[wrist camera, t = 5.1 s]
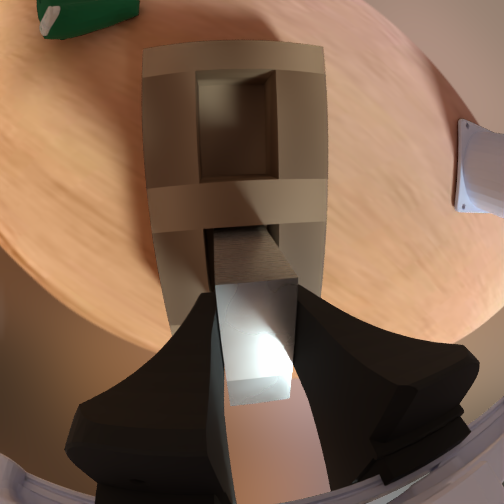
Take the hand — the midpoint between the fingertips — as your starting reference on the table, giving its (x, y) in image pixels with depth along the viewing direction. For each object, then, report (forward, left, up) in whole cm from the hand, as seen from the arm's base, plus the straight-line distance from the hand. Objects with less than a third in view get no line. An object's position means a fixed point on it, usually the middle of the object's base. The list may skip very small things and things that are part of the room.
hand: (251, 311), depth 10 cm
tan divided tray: (0, -4, -7) cm, 8 cm away
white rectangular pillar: (0, 0, -5) cm, 5 cm away
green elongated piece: (+9, -19, -7) cm, 22 cm away
